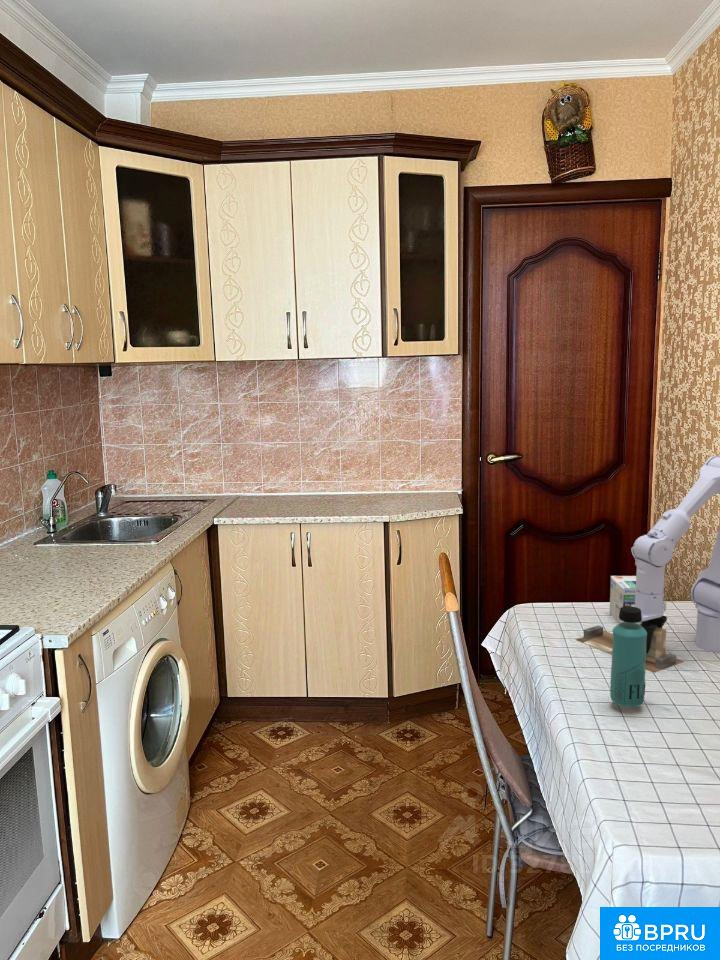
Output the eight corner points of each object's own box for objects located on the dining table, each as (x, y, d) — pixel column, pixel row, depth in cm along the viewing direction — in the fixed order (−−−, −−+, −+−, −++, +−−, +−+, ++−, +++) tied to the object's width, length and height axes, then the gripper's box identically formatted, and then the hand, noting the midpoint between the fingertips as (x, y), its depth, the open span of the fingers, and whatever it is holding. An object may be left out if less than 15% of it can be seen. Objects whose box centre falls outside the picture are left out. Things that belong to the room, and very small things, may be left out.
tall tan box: (633, 651, 172) (635, 621, 171) (664, 659, 168) (666, 629, 166) (627, 655, 170) (629, 625, 169) (658, 664, 165) (660, 633, 164)
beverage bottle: (627, 717, 144) (632, 616, 140) (601, 703, 150) (605, 606, 146) (652, 709, 147) (657, 610, 143) (625, 696, 153) (630, 600, 149)
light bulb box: (649, 630, 187) (651, 588, 185) (621, 630, 187) (623, 588, 185) (634, 614, 198) (636, 574, 196) (608, 615, 198) (609, 575, 196)
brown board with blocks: (604, 633, 185) (604, 622, 185) (684, 665, 167) (684, 653, 166) (575, 642, 180) (575, 631, 179) (654, 676, 161) (654, 663, 161)
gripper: (645, 579, 174) (642, 635, 176) (617, 594, 164) (614, 654, 166) (676, 585, 169) (673, 643, 172) (649, 601, 159) (646, 663, 161)
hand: (646, 649), depth 169 cm, fingers closed on tall tan box, 3 cm apart
